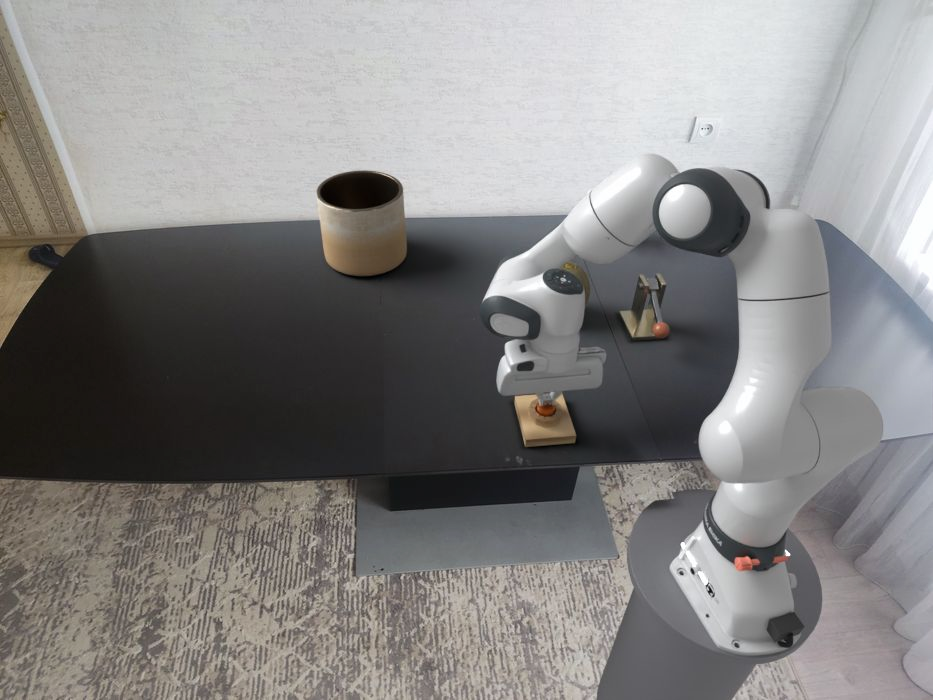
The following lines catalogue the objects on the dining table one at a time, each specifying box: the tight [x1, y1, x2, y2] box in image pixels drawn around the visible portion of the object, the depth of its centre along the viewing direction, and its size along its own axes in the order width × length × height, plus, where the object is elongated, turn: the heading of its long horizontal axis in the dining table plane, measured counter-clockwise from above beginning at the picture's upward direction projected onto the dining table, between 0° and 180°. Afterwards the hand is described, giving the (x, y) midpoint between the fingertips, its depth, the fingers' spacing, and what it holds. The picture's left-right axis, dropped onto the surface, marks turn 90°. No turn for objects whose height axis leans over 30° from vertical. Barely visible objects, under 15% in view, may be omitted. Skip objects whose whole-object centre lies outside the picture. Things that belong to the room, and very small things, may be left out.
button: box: [537, 401, 555, 417], centre depth 131 cm, size 4×4×2 cm
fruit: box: [559, 261, 591, 308], centre depth 156 cm, size 11×11×15 cm
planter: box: [316, 169, 408, 277], centre depth 172 cm, size 22×22×20 cm
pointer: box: [646, 277, 671, 339], centre depth 148 cm, size 14×4×4 cm, turn 7°
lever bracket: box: [618, 273, 667, 342], centre depth 153 cm, size 10×8×14 cm
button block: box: [514, 392, 577, 448], centre depth 133 cm, size 12×10×4 cm
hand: (546, 403), depth 130 cm, fingers closed
